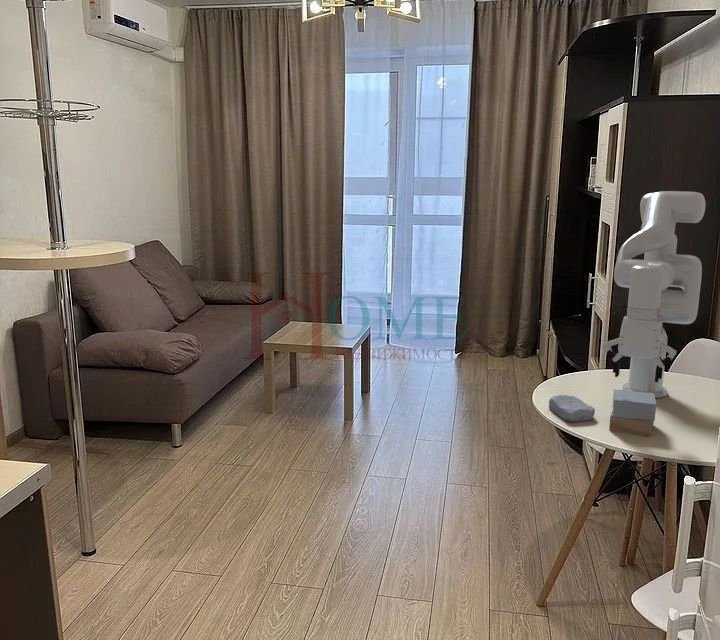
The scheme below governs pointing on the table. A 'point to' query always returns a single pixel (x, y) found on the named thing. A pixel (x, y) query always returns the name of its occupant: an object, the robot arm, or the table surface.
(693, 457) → the table surface
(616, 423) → the tower base
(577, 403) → the stone block
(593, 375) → the table surface
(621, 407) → the tower top
